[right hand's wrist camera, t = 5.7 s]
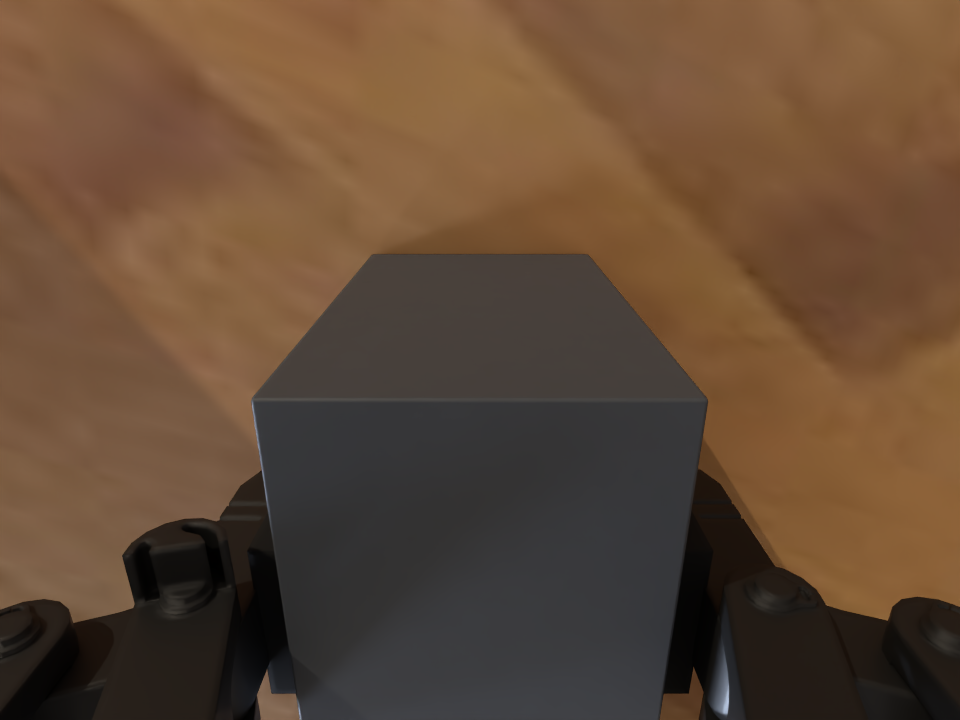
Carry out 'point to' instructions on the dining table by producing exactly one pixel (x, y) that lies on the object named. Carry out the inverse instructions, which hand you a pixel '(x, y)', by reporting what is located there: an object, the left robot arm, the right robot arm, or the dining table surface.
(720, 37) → the dining table surface
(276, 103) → the dining table surface
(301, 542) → the bar
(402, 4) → the dining table surface
